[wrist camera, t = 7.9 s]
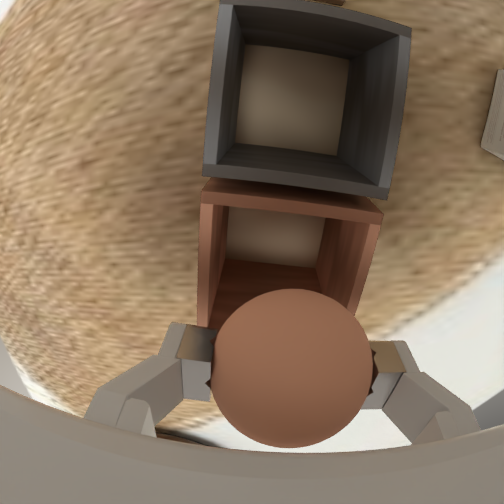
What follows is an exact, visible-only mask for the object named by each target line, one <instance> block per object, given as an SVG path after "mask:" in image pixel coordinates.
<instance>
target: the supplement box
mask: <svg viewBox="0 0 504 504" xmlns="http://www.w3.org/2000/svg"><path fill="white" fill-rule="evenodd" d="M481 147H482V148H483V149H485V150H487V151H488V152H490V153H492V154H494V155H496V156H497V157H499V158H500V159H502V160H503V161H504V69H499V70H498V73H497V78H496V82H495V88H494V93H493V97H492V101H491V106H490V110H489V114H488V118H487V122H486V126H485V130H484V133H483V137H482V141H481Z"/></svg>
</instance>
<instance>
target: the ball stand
mask: <svg viewBox="0 0 504 504" xmlns="http://www.w3.org/2000/svg"><path fill="white" fill-rule="evenodd" d="M316 1H322V2H327V3H332V4H336V5H341V6H342V5H343V4H344V2H345V0H316Z"/></svg>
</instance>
